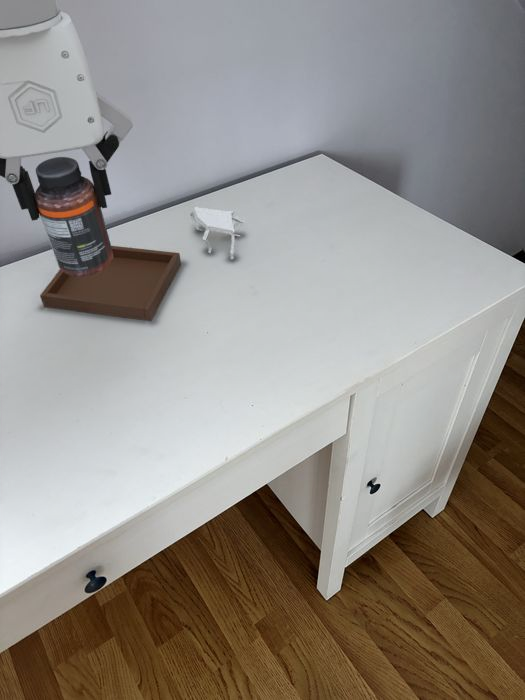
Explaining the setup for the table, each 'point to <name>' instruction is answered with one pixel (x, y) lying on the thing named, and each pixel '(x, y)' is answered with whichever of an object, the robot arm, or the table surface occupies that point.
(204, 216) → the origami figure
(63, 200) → the supplement bottle
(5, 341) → the table surface
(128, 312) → the serving tray
